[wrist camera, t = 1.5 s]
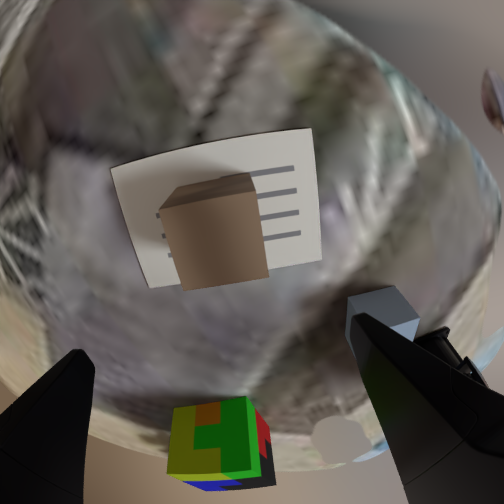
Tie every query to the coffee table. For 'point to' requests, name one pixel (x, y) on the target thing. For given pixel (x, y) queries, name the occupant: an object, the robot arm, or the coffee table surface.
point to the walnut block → (215, 232)
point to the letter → (219, 166)
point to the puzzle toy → (221, 446)
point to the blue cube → (384, 311)
